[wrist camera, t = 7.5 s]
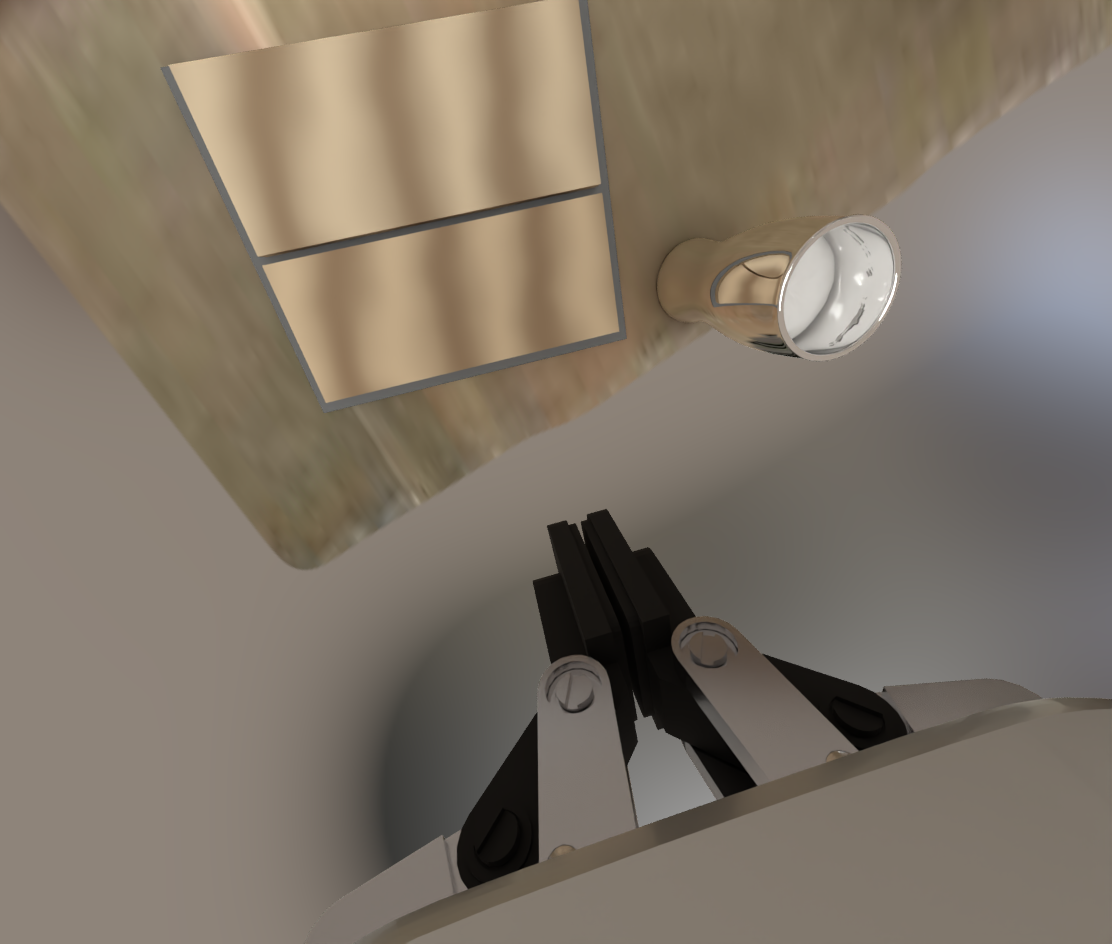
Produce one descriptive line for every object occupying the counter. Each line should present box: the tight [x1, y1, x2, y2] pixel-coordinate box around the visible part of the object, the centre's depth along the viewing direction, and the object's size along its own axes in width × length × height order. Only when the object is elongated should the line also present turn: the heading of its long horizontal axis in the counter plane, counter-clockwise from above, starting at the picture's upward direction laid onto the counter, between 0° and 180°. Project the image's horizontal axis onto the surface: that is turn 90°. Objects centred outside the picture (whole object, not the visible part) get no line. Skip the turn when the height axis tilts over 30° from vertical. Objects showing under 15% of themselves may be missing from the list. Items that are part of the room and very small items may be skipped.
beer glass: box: [657, 214, 902, 361], centre depth 27 cm, size 7×7×15 cm
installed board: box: [169, 0, 601, 257], centre depth 26 cm, size 22×9×2 cm, turn 102°
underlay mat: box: [161, 0, 627, 413], centre depth 29 cm, size 24×20×1 cm
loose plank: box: [262, 193, 619, 403], centre depth 30 cm, size 22×9×2 cm, turn 102°
